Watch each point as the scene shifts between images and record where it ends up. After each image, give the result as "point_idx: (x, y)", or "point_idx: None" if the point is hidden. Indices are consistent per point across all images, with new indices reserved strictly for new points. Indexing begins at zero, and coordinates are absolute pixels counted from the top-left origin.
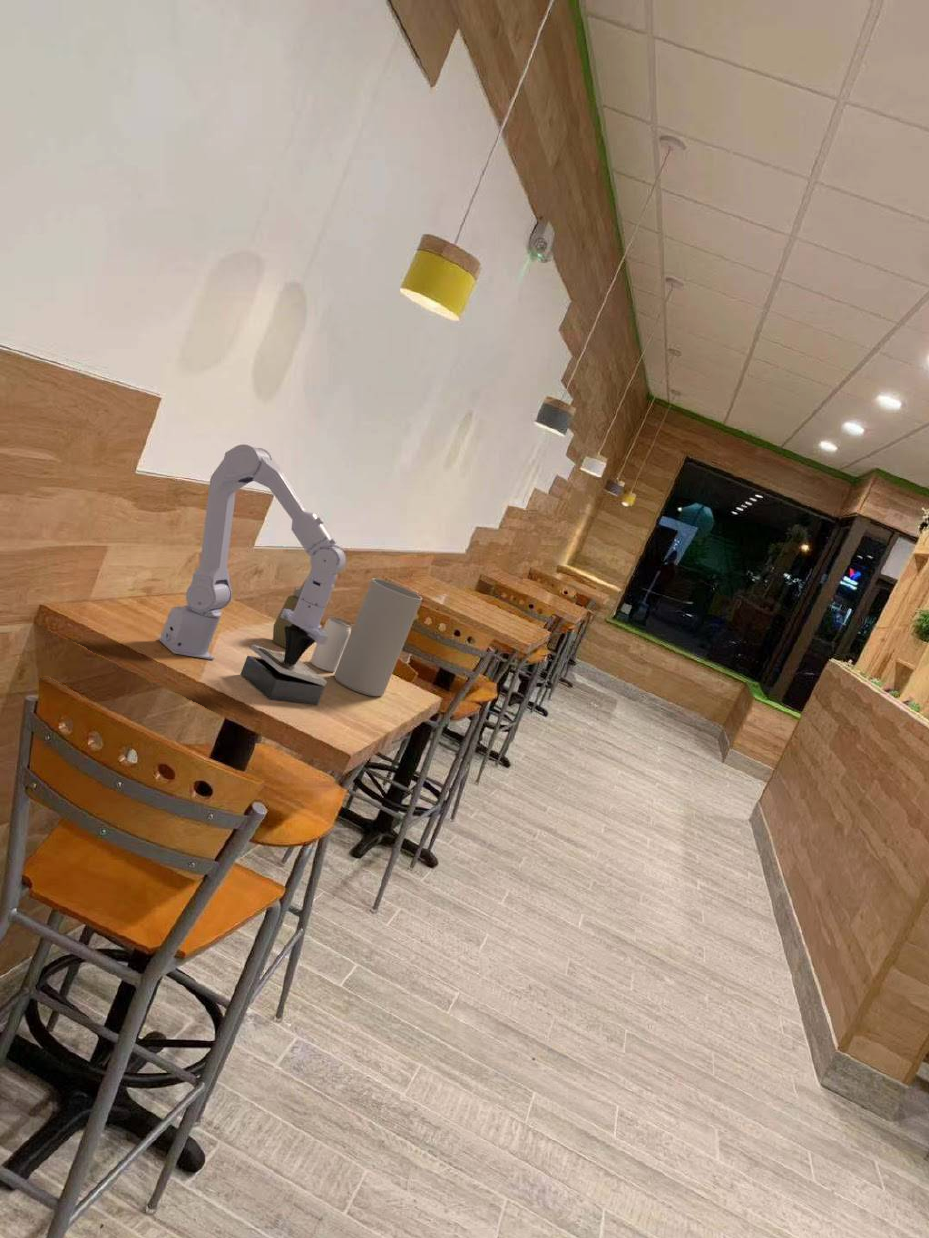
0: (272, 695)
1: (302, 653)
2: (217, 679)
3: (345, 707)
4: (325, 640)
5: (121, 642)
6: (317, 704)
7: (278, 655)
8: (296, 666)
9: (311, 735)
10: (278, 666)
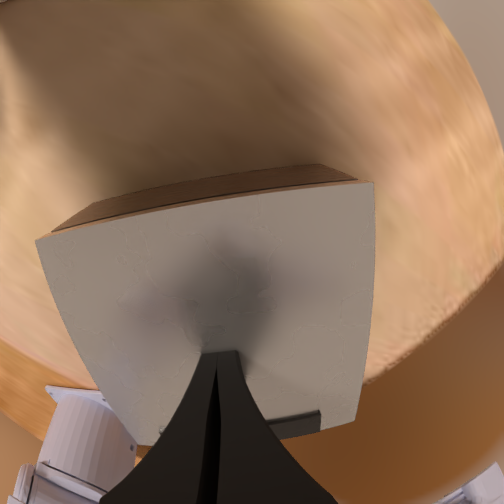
0: None
1: (258, 408)
2: None
3: (276, 11)
4: (502, 483)
5: None
6: (321, 164)
7: (147, 386)
8: (249, 343)
9: (472, 292)
10: (331, 424)
